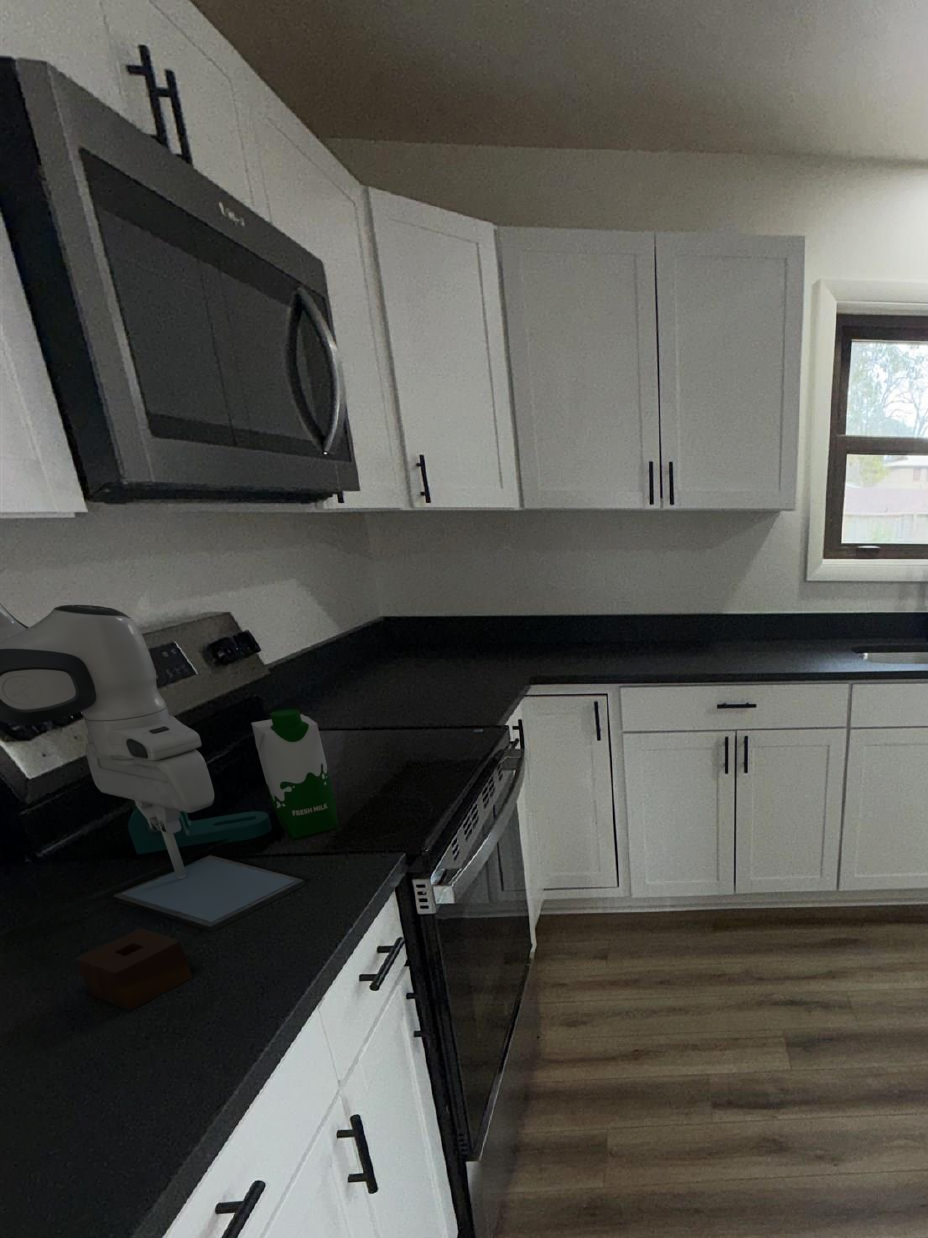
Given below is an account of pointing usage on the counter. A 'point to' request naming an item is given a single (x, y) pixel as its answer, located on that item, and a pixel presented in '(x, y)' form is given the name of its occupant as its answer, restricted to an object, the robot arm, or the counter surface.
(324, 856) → the counter surface
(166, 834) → the stylus
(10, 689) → the robot arm
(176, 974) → the pen holder
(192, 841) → the bracket
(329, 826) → the milk carton
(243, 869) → the plate
